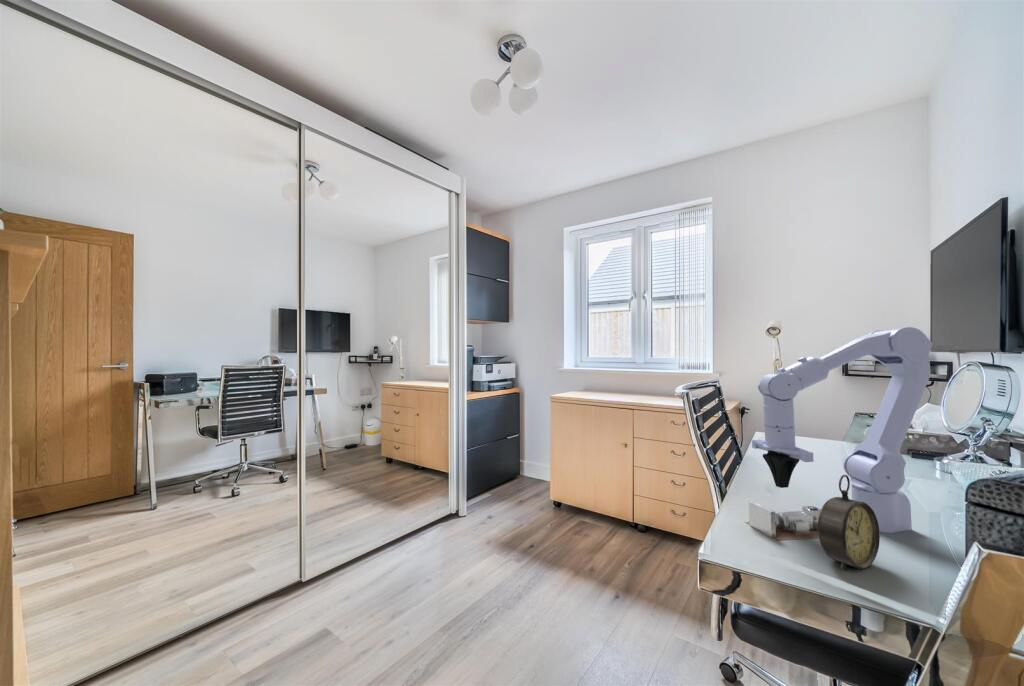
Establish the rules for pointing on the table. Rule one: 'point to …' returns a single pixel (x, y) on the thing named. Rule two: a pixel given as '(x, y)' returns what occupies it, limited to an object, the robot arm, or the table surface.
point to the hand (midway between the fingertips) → (782, 486)
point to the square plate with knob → (772, 521)
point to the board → (793, 535)
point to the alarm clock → (849, 530)
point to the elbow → (801, 517)
